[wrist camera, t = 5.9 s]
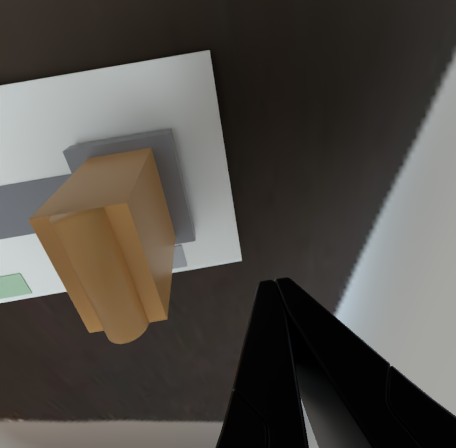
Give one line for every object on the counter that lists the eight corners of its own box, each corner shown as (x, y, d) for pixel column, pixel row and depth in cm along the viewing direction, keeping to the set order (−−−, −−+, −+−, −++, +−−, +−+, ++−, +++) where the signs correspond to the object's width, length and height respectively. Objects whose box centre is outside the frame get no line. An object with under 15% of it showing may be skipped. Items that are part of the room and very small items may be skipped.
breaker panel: (207, 49, 16) (209, 50, 14) (238, 243, 22) (242, 261, 20) (-222, 123, 16) (-277, 132, 14) (-73, 298, 22) (-98, 321, 20)
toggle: (171, 128, 15) (152, 192, 8) (195, 231, 18) (195, 340, 11) (70, 145, 15) (-31, 224, 8) (111, 246, 18) (60, 364, 11)
